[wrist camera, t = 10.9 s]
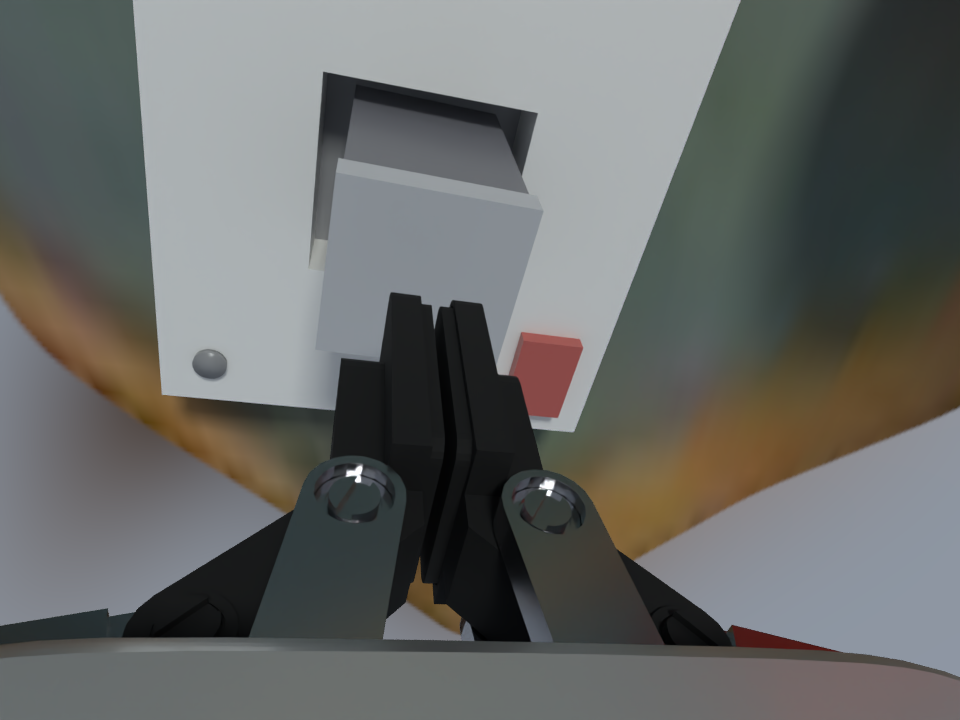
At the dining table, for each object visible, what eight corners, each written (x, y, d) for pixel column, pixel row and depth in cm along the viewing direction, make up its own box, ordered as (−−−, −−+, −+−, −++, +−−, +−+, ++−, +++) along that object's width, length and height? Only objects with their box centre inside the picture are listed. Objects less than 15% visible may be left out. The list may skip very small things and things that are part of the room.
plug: (500, 111, 19) (543, 211, 14) (467, 242, 22) (494, 372, 16) (353, 79, 18) (336, 172, 13) (335, 219, 21) (315, 349, 15)
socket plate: (729, -89, 17) (783, -82, 15) (559, 389, 26) (576, 441, 24) (151, -247, 15) (104, -270, 12) (181, 349, 24) (157, 404, 21)
